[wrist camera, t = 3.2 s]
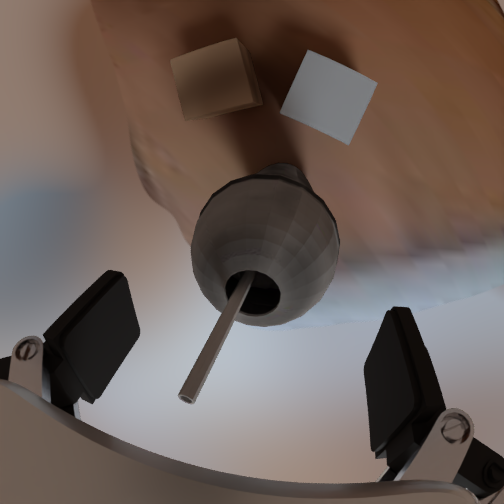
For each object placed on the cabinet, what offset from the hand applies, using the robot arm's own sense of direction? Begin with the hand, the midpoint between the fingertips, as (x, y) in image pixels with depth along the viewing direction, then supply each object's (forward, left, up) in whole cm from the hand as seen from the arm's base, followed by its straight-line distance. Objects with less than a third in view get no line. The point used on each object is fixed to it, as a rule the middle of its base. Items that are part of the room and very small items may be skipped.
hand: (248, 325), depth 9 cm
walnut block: (-9, -5, -17) cm, 20 cm away
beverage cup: (0, 0, -17) cm, 17 cm away
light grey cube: (-8, +3, -17) cm, 19 cm away
